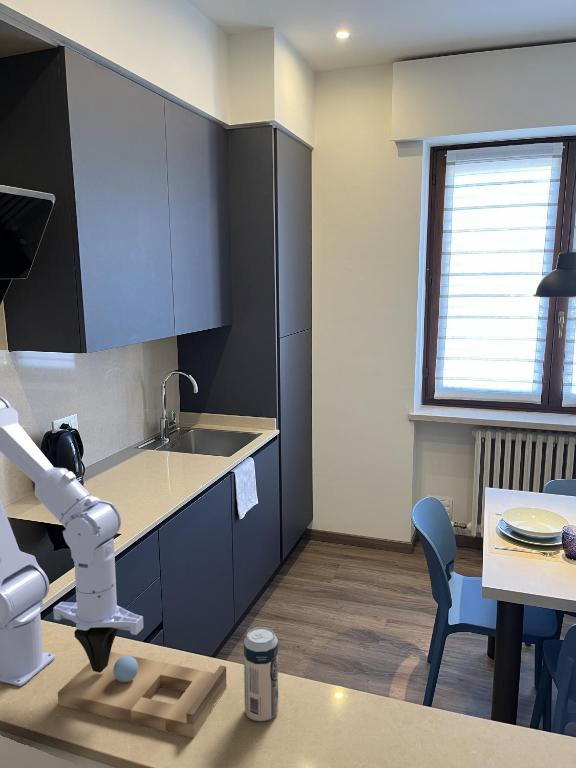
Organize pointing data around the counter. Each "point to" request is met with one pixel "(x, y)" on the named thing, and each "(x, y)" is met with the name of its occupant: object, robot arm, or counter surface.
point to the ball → (125, 669)
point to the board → (147, 695)
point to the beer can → (261, 674)
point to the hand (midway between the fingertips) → (100, 668)
